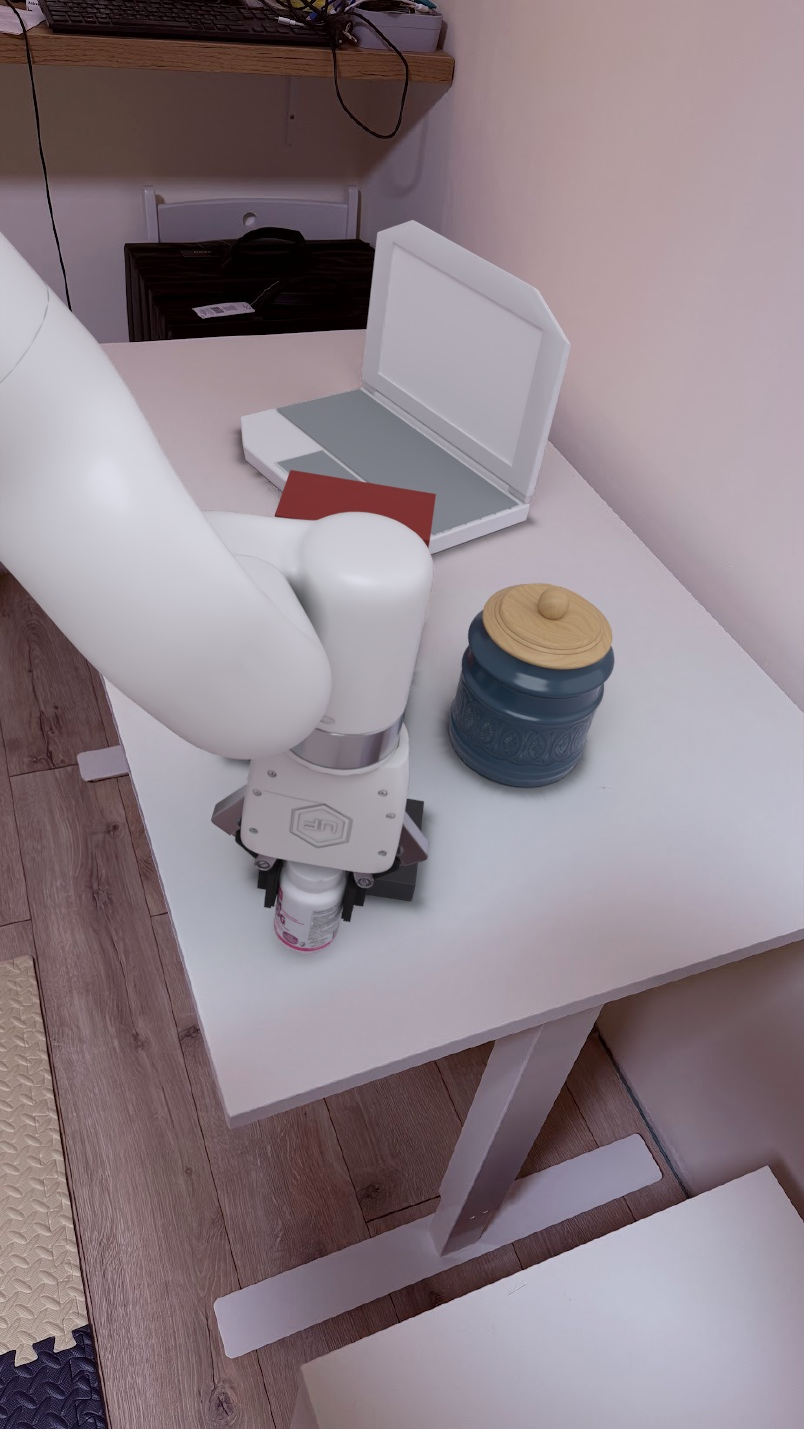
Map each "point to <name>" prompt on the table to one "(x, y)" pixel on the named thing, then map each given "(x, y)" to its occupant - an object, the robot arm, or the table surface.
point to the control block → (405, 877)
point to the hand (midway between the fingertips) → (310, 897)
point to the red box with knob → (355, 501)
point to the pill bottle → (308, 906)
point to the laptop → (434, 391)
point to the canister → (530, 684)
